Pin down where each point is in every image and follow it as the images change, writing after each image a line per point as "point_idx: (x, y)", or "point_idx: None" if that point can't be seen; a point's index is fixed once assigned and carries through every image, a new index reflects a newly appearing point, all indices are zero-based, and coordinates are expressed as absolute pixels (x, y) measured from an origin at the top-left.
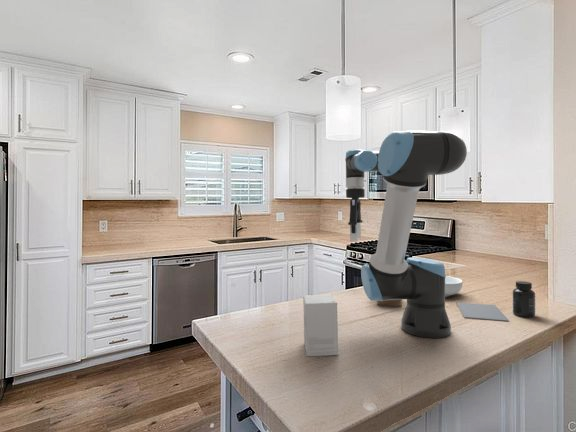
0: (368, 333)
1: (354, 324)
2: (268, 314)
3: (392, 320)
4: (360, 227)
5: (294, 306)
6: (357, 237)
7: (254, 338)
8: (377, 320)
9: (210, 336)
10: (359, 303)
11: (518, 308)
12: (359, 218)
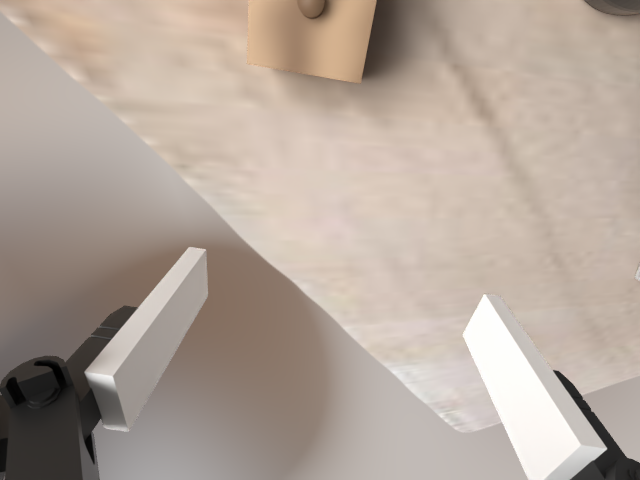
0: (625, 135)
1: (544, 170)
2: (438, 350)
3: (536, 39)
4: (152, 324)
5: (380, 311)
6: (205, 276)
7: (574, 354)
8: (525, 96)
9: None
10: (344, 145)
11: None
12: (85, 470)
